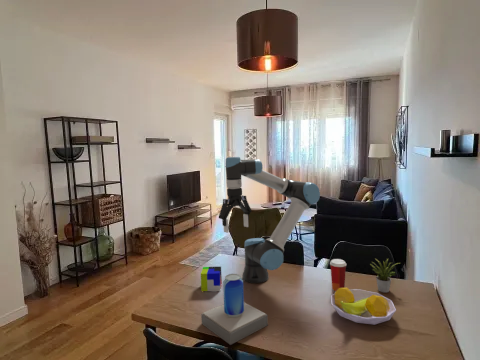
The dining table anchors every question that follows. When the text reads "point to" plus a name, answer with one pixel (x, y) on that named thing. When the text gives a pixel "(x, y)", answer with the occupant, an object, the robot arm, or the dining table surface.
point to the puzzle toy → (211, 279)
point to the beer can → (233, 295)
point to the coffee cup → (338, 273)
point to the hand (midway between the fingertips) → (236, 229)
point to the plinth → (234, 323)
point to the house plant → (383, 276)
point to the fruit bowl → (362, 306)
